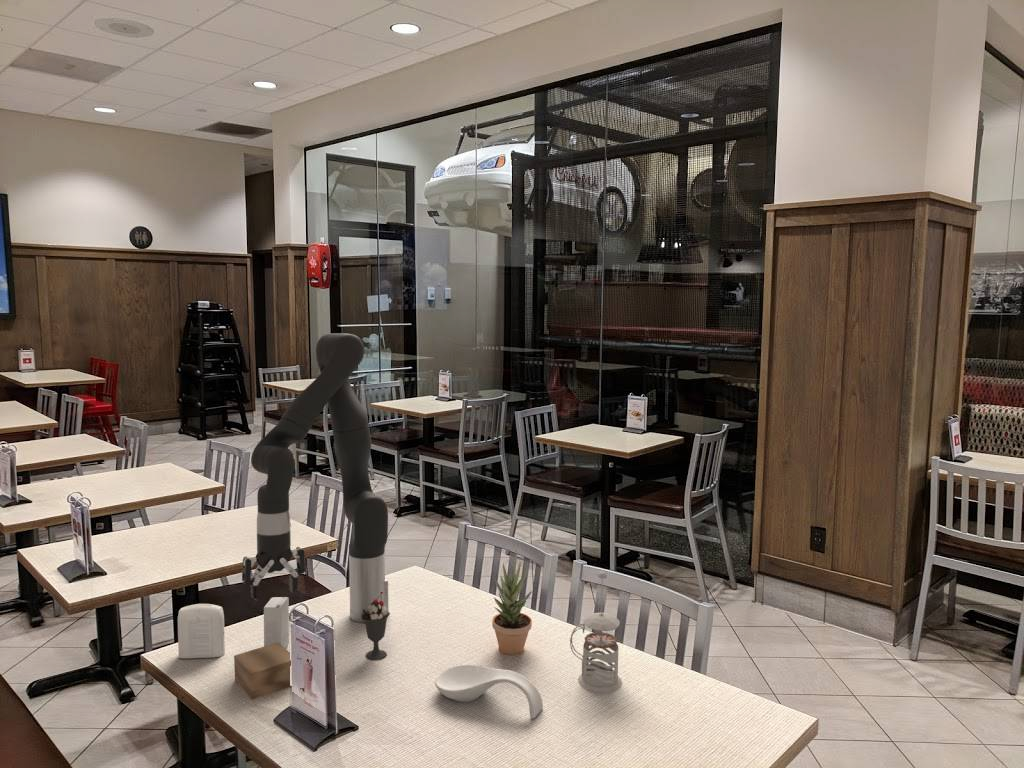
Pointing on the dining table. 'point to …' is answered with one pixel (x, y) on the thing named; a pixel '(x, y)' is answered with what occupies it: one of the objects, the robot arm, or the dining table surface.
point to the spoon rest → (484, 684)
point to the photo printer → (201, 631)
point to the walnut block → (263, 670)
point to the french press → (597, 672)
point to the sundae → (375, 627)
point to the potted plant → (511, 614)
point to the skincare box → (276, 621)
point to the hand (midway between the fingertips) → (274, 595)
